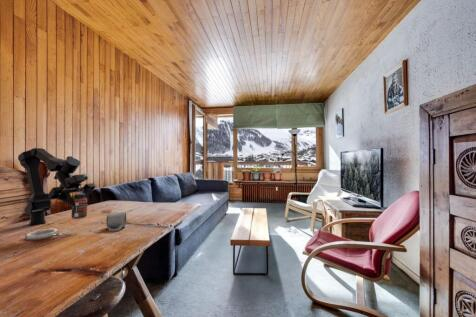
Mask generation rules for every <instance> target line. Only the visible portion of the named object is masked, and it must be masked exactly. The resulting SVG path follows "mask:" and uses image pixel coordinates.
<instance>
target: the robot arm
mask: <svg viewBox="0 0 476 317" xmlns="http://www.w3.org/2000/svg"><path fill="white" fill-rule="evenodd" d="M17 160H18V162H19V164H20V166H21V167H22V168H24V169H25V172H26V176H27V180H28V185H29V189H30V194H31V195H30V197H29V199H28V200H27V202H28V203H27V205H26V206H25V207H24V213H25V214H29V222H28V226H35V225H41V224H46V222H47V220H46V217H45V216H46V214H45V213H46V211H50V209H51V204H52V200H57V201H62V202H64V203H67V204H69V205H70V206H72V205H73V206H75V202H74V200H73V199H74V198H73V197H72V196H71V194H74V193H75V194H76V193H79V194H81V193H83V194H85V198H87V204H89V202H90V200H89V199H90V197H89V195H90V194H92V192H94V190H95V188H96V187H97V186H96V185H95V183H85V184H84V185H83V187H81V186H82V183H83V182H85V181H87V180H88V178H89V177H88V175H87V174H86V173H82V174H74V173H75V172H76V171H77V169H78V168H79V167H80V166H81V161H80V160H79V159H77V158H75V157H73V156H67V157H66V158H65V159H62V158H59V157H58V158H57V157H56V156H54V155H52V154H51V153H50V152H49V151H46V149H45V148H42V147H41V148H40V147H39V148H38V147H33V148H31V149H28V150H26V151H25V150H24V151H22V152H21V153H20V154H18V156H17ZM41 162H43V163H44V164H46V169H48V171H49V172H51V173H52V172H56V173H55V175H54V176H53V180H58V182H59V186H55V187H52V188H51V189H50V191H49V193H46V192H45V190H44V188H43V183H42V179H41V174H40V170H39V166H40V164H41ZM72 174H74V175H72Z"/></svg>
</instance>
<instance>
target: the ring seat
mask: <svg viewBox="0 0 476 317" xmlns="http://www.w3.org/2000/svg"><path fill="white" fill-rule="evenodd" d="M59 234H60V233H59V230H58V229H57V228H43V229H38V230H34V231H31V232H28V233H26V236H25V237H24V239H25V240H26V241H40V240H46V239H49V238H53V237H56V236H58V235H59Z"/></svg>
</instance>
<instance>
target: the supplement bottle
mask: <svg viewBox="0 0 476 317" xmlns="http://www.w3.org/2000/svg"><path fill="white" fill-rule="evenodd" d="M72 199H73V200H74V202H75V206H73V205H71V219H74V220H77V219H84V218H87V216H88V203H87V198H85V194H83V193H75V194H74V198H72Z"/></svg>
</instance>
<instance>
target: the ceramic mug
mask: <svg viewBox="0 0 476 317" xmlns="http://www.w3.org/2000/svg"><path fill="white" fill-rule="evenodd" d="M126 226H127V212H126V211H120V212H114V213H113V212H112V213H109V214H107V216H106V227H107V228H108V230H109V231H110V232H112V233H113V232H118V231H120V230H121V229H123V228H125V227H126Z"/></svg>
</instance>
